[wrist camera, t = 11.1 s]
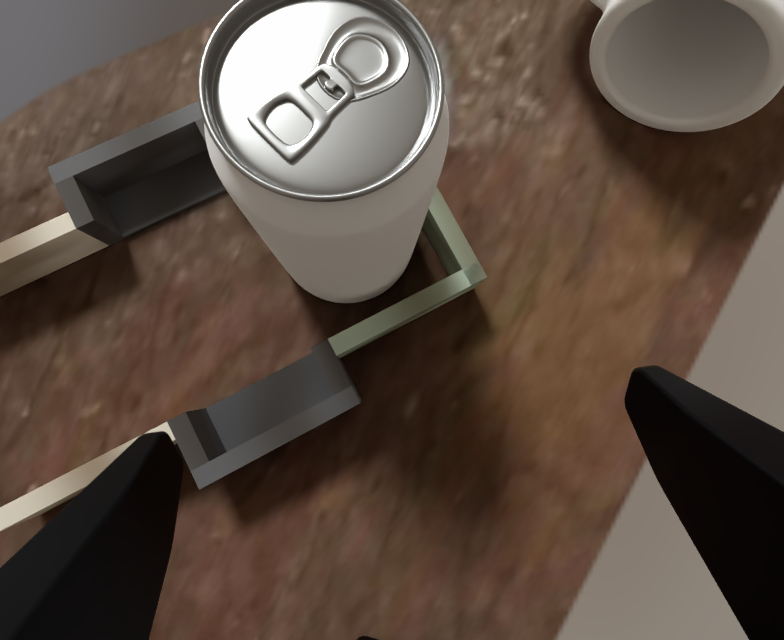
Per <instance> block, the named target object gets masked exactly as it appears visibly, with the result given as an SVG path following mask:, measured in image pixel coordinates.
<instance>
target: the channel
mask: <svg viewBox="0 0 784 640" xmlns="http://www.w3.org/2000/svg"><path fill="white" fill-rule="evenodd" d="M47 168H48V171H49V173H50V175H51V177H52V179H53V181H54V183H55V185H56V187H57V190H58V192H59V194H60V196H61V198H62V200H63V202H64V204H65V207H66V209H67V211H68V212H67V213H65V214H63V215H61V216H59V217H56V218H54V219H52V220H50V221H48V222H45V223H43V224H41V225H39V226H37V227H34V228H32V229H30V230H28V231H26V232H23V233H21V234H19V235H17V236H14V237H12V238H10V239H8V240H6V241H3V242H1V243H0V296H2V295H5V294H7V293H9V292H11V291H13V290H15V289H17V288H20V287H22V286H24V285H26V284H28V283H30V282H32V281H35V280H37V279H39V278H41V277H43V276H45V275H48V274H50V273H52V272H54V271H56V270H58V269H60V268H63V267H65V266H67V265H69V264H71V263H73V262H75V261H78V260H80V259H82V258H84V257H86V256H88V255H90V254H93V253H95V252H97V251H99V250H101V249H103V248H105V247H108V246H110V245H112V244H114V243H116V242H118V241H120V240H123V239H125V238H127V237H129V236H131V235H133V234H135V233H138V232H140V231H142V230H144V229H146V228H148V227H150V226H153V225H155V224H157V223H159V222H161V221H163V220H165V219H168V218H170V217H172V216H174V215H176V214H178V213H181V212H183V211H185V210H187V209H189V208H191V207H193V206H196V205H198V204H200V203H202V202H204V201H206V200H208V199H211V198H213V197H215V196H217V195H219V194H221V193H223V192H226V191H227V190H226V189H225V187H224V186H223V184H222V182H221V180H220V179H219V177H218V175H217V173H216V171H215V168H214V166H213V164H212V161H211V159H210V156H209V152H208V149H207V144H206V139H205V130H204V120H203V117H202V113H201V109H200V104H199V101H197V102H195V103H193V104H190V105H188V106H186V107H184V108H181V109H179V110H177V111H175V112H172V113H170V114H168V115H165V116H163V117H161V118H159V119H156V120H154V121H152V122H150V123H147V124H145V125H143V126H140V127H138V128H136V129H134V130H131V131H129V132H127V133H125V134H122V135H120V136H118V137H116V138H113V139H111V140H109V141H106V142H104V143H102V144H100V145H97V146H95V147H93V148H91V149H88V150H86V151H84V152H82V153H79V154H77V155H75V156H72V157H70V158H68V159H66V160H63V161H61V162H59V163H57V164H54V165H52V166H50V167H47ZM422 228H423V230H424V231H425V233H426V235H427V237H428V239H429V241H430V242H431V244H432V246H433V248H434V250H435V252H436V253H437V255H438V257H439V259H440V261H441V262H442V264H443V266H444V268H445V270H446V272H447V273H448V275H449V277H447V278H445V279H443V280H441V281H439V282H437V283H435V284H433V285H431V286H429V287H427V288H425V289H423V290H421V291H420V292H418V293H416V294H414V295H412V296H410V297H408V298H406V299H404V300H402V301H400V302H398V303H396V304H394V305H392V306H390V307H388V308H387V309H385V310H383V311H381V312H379V313H377V314H375V315H373V316H371V317H369V318H367V319H365V320H363V321H361V322H359V323H357V324H356V325H354V326H352V327H350V328H348V329H346V330H344V331H342V332H340V333H338V334H336V335H334V336H332V337H330V338H328V339H326V340H324V341H323V342H321V343H319V344H317V345H315V346H313V347H311V350H312V352H313V353H312V354H310V355H308V356H306V357H304V358H302V359H300V360H298V361H296V362H294V363H292V364H290V365H288V366H287V367H285V368H283V369H281V370H279V371H277V372H275V373H273V374H271V375H269V376H267V377H265V378H263V379H261V380H259V381H258V382H256V383H254V384H252V385H250V386H248V387H246V388H244V389H242V390H240V391H238V392H236V393H234V394H232V395H230V396H229V397H227V398H225V399H223V400H221V401H219V402H217V403H215V404H213V405H211V406H209V407H207V408H205V409H199V410H194V411H189V412H185V413H183V414H181V415H179V416H177V417H175V418H173V419H171V420H169V421H167V422H165V423H164V424H162V425H160V426H158V427H156V428H154V429H152V430H150V431H148V432H146V433H151V432H159V431H164V432H166V433H168V434H169V436H170V438H171V439H172V441H173V443H174V445H175V444H178V446H179V448H180V450H181V452H182V454H183V456H184V459H185V461H186V463H187V465H188V467H189V469H190V471H191V473H192V476H193V478H194V480H195V482H196V484H197V486H198V488H199V490H200V489H202V488H203V487H205V486H207V485H209V484H211V483H213V482H215V481H216V480H218V479H220V478H222V477H224V476H226V475H228V474H229V473H231V472H233V471H235V470H237V469H239V468H241V467H243V466H244V465H246V464H248V463H250V462H252V461H254V460H256V459H257V458H259V457H261V456H263V455H265V454H267V453H269V452H270V451H272V450H274V449H276V448H278V447H280V446H282V445H284V444H285V443H287V442H289V441H291V440H293V439H295V438H297V437H298V436H300V435H302V434H304V433H306V432H308V431H310V430H311V429H313V428H315V427H317V426H319V425H321V424H323V423H325V422H326V421H328V420H330V419H332V418H334V417H336V416H338V415H339V414H341V413H343V412H345V411H347V410H349V409H351V408H352V407H354V406H356V405H358V404H360V403H361V401H362V400H361V398H360V396H359V394H358V392H357V390H356V388H355V386H354V384H353V382H352V380H351V378H350V376H349V375H348V373H347V371H346V369H345V367H344V365H343V363H342V361H341V359H340V358H342V357H344V356H345V355H347V354H349V353H351V352H353V351H355V350H357V349H359V348H361V347H363V346H365V345H367V344H368V343H370V342H372V341H374V340H376V339H378V338H380V337H382V336H384V335H386V334H388V333H389V332H391V331H393V330H395V329H397V328H399V327H401V326H403V325H405V324H407V323H409V322H411V321H412V320H414V319H416V318H418V317H420V316H422V315H424V314H426V313H428V312H430V311H432V310H434V309H435V308H437V307H439V306H441V305H443V304H445V303H447V302H449V301H451V300H453V299H455V298H457V297H458V296H460V295H462V294H464V293H466V292H468V291H470V290H472V289H474V288H475V287H476V286H477V285H479V284H480V283H481V282H482V281H483V280H485V279H486V278H487V276H486V274H485V272H484V270H483V269H482V267H481V265H480V263H479V261H478V260H477V258H476V256H475V254H474V253H473V251H472V249H471V247H470V245H469V244H468V242H467V240H466V238H465V236H464V235H463V233H462V231H461V229H460V227H459V226H458V224H457V222H456V220H455V218H454V217H453V215H452V213H451V211H450V209H449V208H448V206H447V204H446V202H445V200H444V199H443V197H442V195H441V193H440V191H439V190H438V188H437V186H436V189H435V192H434V194H433V197H432V200H431V203H430V206H429V209H428V212H427V214H426V217H425V220H424V223H423V226H422ZM144 434H145V433H144ZM140 436H141V435H140ZM138 437H139V436H138ZM138 437H136V438H134V439H132V440H131V441H129V442H127V443H125V444H123V445H121V446H119V447H117V448H115V449H113V450H111V451H109V452H107V453H105V454H103V455H101V456H100V457H98V458H96V459H94V460H92V461H90V462H88V463H86V464H84V465H82V466H80V467H78V468H76V469H74V470H72V471H70V472H68V473H67V474H65V475H63V476H61V477H59V478H57V479H55V480H53V481H51V482H49V483H47V484H45V485H43V486H41V487H39V488H37V489H36V490H34V491H32V492H30V493H28V494H26V495H24V496H22V497H20V498H18V499H16V500H14V501H12V502H10V503H8V504H6V505H4V506H3V507H1V508H0V531H2V530H5V529H7V528H10V527H12V526H14V525H17V524H19V523H22V522H24V521H26V520H29V519H31V518H34V517H36V516H38V515H41V514H43V513H45V512H47V511H49V510H51V509H52V508H54V507H56V506H58V505H60V504H62V503H64V502H66V501H68V500H70V499H72V498H74V497H75V496H77V495H78V494H79V493H80V492H81V491H82V490H83V489H84V488H85V487H86V486H87V485H89V484H90V483H91V482H92V481H93V480H94V479H95V478H96V477H97V476H98V475H99V474H100V473H101V472H102V471H103V470H104V469H105V468H106V467H108V466H109V465H110V464H111V463H112V462H113V461H114V460H115V459H116V458H117V457H118V456H119V455H120V454H121V453H122V452H123V451H124V450H125V449H127V448H128V447H129V446H130V445H131V444H132V443H133V442H134V441H135V440H136V439H137V438H138Z"/></svg>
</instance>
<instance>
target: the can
mask: <svg viewBox="0 0 784 640" xmlns="http://www.w3.org/2000/svg"><path fill="white" fill-rule="evenodd" d="M198 98H199V104H200V109H201V113H202V117H203V120H204V130H205V139H206V144H207V149H208V152H209V156H210V159H211V161H212V164H213V166H214V168H215V171H216V173H217V175H218V177H219V179H220V180H221V182H222V184H223V186H224V187H225V189H226V190H227V192H228V193H229V195H230V196H231V198H232V199H233V201H234V202H235V203H236V205H237V206H238V207H239V209H240V210H241V211H242V213H243V214H244V216H245V217H246V218H247V220H248V221H249V222H250V224H251V225H252V226H253V228H254V229H255V230H256V232H257V233H258V234H259V235H260V237H261V238H262V239H263V241H264V242H265V243H266V245H267V246H268V247H269V249H270V250H271V251H272V253H273V254H274V255H275V256H276V258H277V259H278V260H279V262H280V263H281V264H282V265H283V267H284V268H285V269H286V271H287V272H288V273H289V274H290V276H291V277H292V278H293V279H294V280H295V281H296V282H297V283H298V284H299V285H300V286H301V287H302V288H304V289H305V290H306V291H308V292H309V293H311V294H313V295H314V296H316V297H319V298H321V299H324V300H327V301H331V302H336V303H356V302H362V301H366V300H369V299H371V298H374V297H376V296H378V295H380V294H382V293H383V292H385V291H386V290H387V289H389V288H390V287H391V286H392V285H393V284H394V283H395V282H396V281H397V280H398V279H399V278H400V276H401V275H402V274H403V272H404V270H405V269H406V267H407V265H408V263H409V261H410V258H411V256H412V253H413V250H414V248H415V245H416V242H417V240H418V237H419V234H420V231H421V228H422V226H423V223H424V220H425V217H426V214H427V212H428V209H429V206H430V203H431V200H432V197H433V194H434V192H435V189H436V186H437V183H438V180H439V177H440V174H441V171H442V167H443V164H444V160H445V156H446V152H447V146H448V138H449V112H448V106H447V101H446V97H445V93H444V75H443V69H442V64H441V61H440V57H439V54H438V51H437V49H436V47H435V44H434V42H433V40H432V38H431V36H430V35H429V33H428V31H427V30H426V28H425V27H424V25H423V24H422V23H421V21H420V20H419V19H418V18H417V16H416V15H415V14H414V13H413V12H412V11H411V10H410V9H409V8H408V7H407V6H406V5H404V4H403V3H402V2H401V1H400V0H239V1H238V2H237V3H236V4H235V5H234V6H233V7H231V8H230V9H229V10H228V11H227V13H226V14H225V15H224V16H223V17H222V18H221V20H220V21H219V22H218V24H217V25H216V27H215V28H214V30H213V31H212V33H211V35H210V37H209V39H208V41H207V43H206V46H205V48H204V51H203V54H202V58H201V62H200V66H199V73H198Z"/></svg>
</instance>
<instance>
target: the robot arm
mask: <svg viewBox="0 0 784 640" xmlns="http://www.w3.org/2000/svg"><path fill="white" fill-rule="evenodd" d="M625 407H626V410H627V413H628V415H629V417H630V420H631V422H632V424H633V426H634V429H635V431H636V433H637V435H638V438H639V440H640V442H641V445H642V447H643V449H644V451H645V454H646V456H647V458H648V460H649V463H650V465H651V467H652V469H653V471H654V473H655V475H656V478H657V480H658V482H659V483H660V485H661V487H662V489H663V491H664V493H665V494H666V496H667V498H668V500H669V501H670V503H671V505H672V507H673V508H674V510H675V512H676V514H677V515H678V517H679V519H680V521H681V522H682V524H683V526H684V527H685V529H686V531H687V532H688V534H689V536H690V538H691V540H692V541H693V543H694V545H695V546H696V548H697V550H698V552H699V553H700V555H701V557H702V559H703V560H704V562H705V564H706V565H707V567H708V569H709V571H710V572H711V574H712V576H713V578H714V580H715V581H716V583H717V585H718V586H719V588H720V590H721V592H722V593H723V595H724V597H725V599H726V600H727V602H728V604H729V606H730V607H731V609H732V611H733V613H734V614H735V616H736V618H737V620H738V621H739V623H740V625H741V626H742V628H743V630H744V631H745V633H746V635H747V637H748V639H749V640H784V432H783V431H781V430H779V429H777V428H775V427H773V426H771V425H769V424H767V423H765V422H763V421H762V420H760V419H758V418H756V417H754V416H752V415H750V414H748V413H747V412H745V411H743V410H741V409H739V408H737V407H735V406H733V405H731V404H729V403H728V402H726V401H724V400H722V399H720V398H718V397H716V396H714V395H712V394H711V393H709V392H707V391H705V390H703V389H701V388H699V387H697V386H695V385H694V384H691V383H690V382H688V381H686V380H684V379H682V378H680V377H678V376H676V375H675V374H673V373H671V372H669V371H667V370H665V369H663V368H661V367H659V366H645V367H638V368H635V369H634V370H633V371H632V373H631V377H630V380H629V384H628V387H627V391H626V395H625ZM182 476H183V460H182V457H181V455H180V453H179V452H178V450H177V448H176V446H175V445H174V443H173V441H172V439H171V438H170V436H169V434H168V433H166V432H164V431H159V432H151V433H145V434H142V435H141V436H139V437H138V438H137V439H136V440H135V441H134V442H133V443H132V444H131V445H130V446H129V447H128V448H127V449H125V450H124V451H123V452H122V453H121V454H120V455H119V456H118V457H117V458H116V459H115V460H114V461H113V462H112V463H111V464H110V465H109V466H108V467H106V468H105V469H104V470H103V471H102V472H101V473H100V474H99V475H98V476H97V477H96V478H95V479H94V480H93V481H92V482H91V483H90V484H89V485H87V486H86V487H85V488H84V489H83V490H82V491H81V492H80V493H79V494H78V495H77V496H76V497H75V498H74V499H73V500H72V501H71V502H70V503H68V504H67V505H66V506H65V507H64V508H63V509H62V510H61V511H60V512H59V513H58V514H57V515H56V516H55V517H54V518H53V519H52V520H51V521H49V522H48V523H47V524H46V525H45V526H44V527H43V528H42V529H41V530H40V531H39V532H38V533H37V534H36V535H35V536H34V537H33V538H31V539H30V540H29V541H28V542H27V543H26V544H25V545H24V546H23V547H22V548H21V549H20V550H19V551H18V552H17V553H16V554H15V555H14V556H12V557H11V558H10V559H9V560H8V561H7V562H6V563H5V564H4V565H3V566H2V567H1V568H0V640H149V636H150V632H151V628H152V624H153V620H154V617H155V613H156V609H157V605H158V601H159V597H160V593H161V589H162V585H163V581H164V578H165V574H166V570H167V566H168V562H169V558H170V553H171V549H172V544H173V538H174V532H175V525H176V518H177V511H178V504H179V497H180V490H181V483H182ZM357 640H378V639H374V638H371V637H368V636H362V637H359V638H358V639H357Z"/></svg>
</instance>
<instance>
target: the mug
mask: <svg viewBox="0 0 784 640" xmlns="http://www.w3.org/2000/svg"><path fill="white" fill-rule="evenodd" d="M590 1H591V2H592V3H594V4H595V5H596V6H597V7H599V8H600V9H601V10H602V11H603V15H602V17H601V19H600V21H599V22H598V24H597V26H596V28H595V31H594V33H593V36H592V40H591V44H590V52H589V60H590V68H591V72H592V76H593V79H594V81H595V83H596V85H597V87H598V89H599V91H600V92H601V94H602V95H603V96H604V98H605V99H606V100H607V101H608V102H609V103H610V104H611V105H612V106H613V107H614V108H615V109H617V110H618V111H619V112H621V113H622V114H624V115H625V116H627V117H628V118H630V119H632V120H634V121H636V122H638V123H641V124H643V125H646V126H649V127H652V128H656V129H661V130H666V131H674V132H699V131H707V130H713V129H717V128H721V127H725V126H728V125H731V124H733V123H736V122H738V121H741V120H743V119H745V118H747V117H749V116H750V115H752V114H754V113H755V112H757V111H758V110H760V109H761V108H762V107H764V106H765V105H766V104H767V103H768V102H769V101H771V100H772V99H773V98H774V97H775V95H776V94H777V93H778V92H779V91H780V90H781V88H782V87H783V85H784V0H590Z"/></svg>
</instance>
